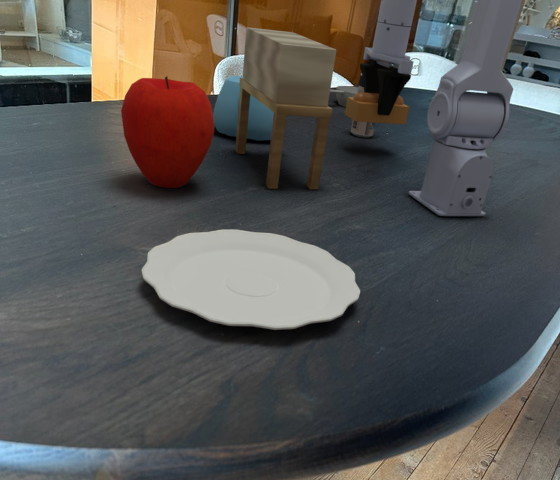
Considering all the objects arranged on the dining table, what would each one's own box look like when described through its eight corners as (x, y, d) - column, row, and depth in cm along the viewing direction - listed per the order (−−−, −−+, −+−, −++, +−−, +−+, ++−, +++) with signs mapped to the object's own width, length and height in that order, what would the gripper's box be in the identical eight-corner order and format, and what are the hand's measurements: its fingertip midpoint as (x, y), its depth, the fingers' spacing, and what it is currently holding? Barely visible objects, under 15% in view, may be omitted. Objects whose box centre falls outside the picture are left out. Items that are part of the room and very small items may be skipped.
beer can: (372, 139, 118) (385, 73, 111) (348, 135, 119) (360, 69, 112) (373, 134, 122) (386, 71, 115) (351, 130, 123) (362, 67, 116)
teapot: (295, 69, 111) (281, 82, 96) (287, 128, 117) (273, 149, 102) (230, 58, 112) (206, 70, 97) (226, 118, 118) (203, 138, 103)
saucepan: (385, 110, 147) (388, 93, 145) (333, 112, 137) (336, 94, 135) (354, 100, 154) (357, 84, 151) (303, 101, 143) (306, 84, 141)
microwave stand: (322, 190, 87) (344, 51, 76) (268, 189, 84) (284, 45, 74) (281, 152, 101) (295, 32, 91) (234, 150, 99) (243, 26, 88)
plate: (342, 253, 68) (344, 240, 67) (370, 352, 51) (375, 336, 50) (159, 235, 66) (159, 220, 65) (125, 331, 49) (124, 313, 48)
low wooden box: (405, 124, 106) (411, 98, 104) (355, 121, 103) (360, 94, 100) (392, 117, 110) (398, 93, 108) (344, 114, 107) (348, 89, 104)
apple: (199, 170, 87) (203, 70, 80) (221, 197, 78) (229, 88, 71) (117, 169, 83) (114, 64, 75) (131, 198, 74) (129, 82, 67)
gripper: (437, 32, 94) (415, 122, 101) (395, 21, 105) (378, 103, 112) (398, 27, 91) (379, 120, 99) (359, 17, 102) (345, 101, 110)
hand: (376, 111), depth 106 cm, fingers closed on low wooden box, 5 cm apart
